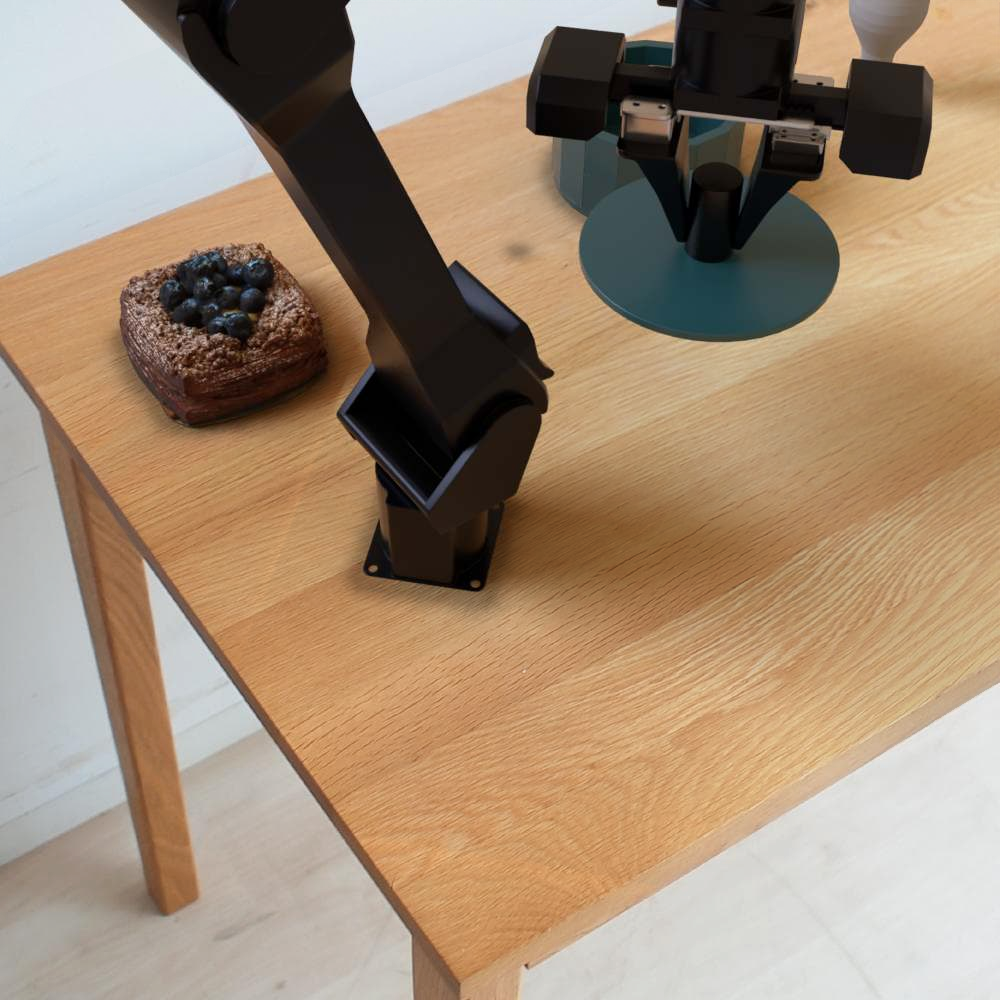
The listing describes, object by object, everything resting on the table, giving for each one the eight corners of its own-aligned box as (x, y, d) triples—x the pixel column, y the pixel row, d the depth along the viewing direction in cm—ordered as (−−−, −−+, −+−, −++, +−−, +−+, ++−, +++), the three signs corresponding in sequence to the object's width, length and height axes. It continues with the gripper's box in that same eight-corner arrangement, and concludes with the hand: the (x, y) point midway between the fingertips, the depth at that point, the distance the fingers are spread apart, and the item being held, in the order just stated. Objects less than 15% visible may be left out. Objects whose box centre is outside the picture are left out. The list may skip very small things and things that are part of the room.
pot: (728, 241, 95) (741, 158, 90) (538, 219, 96) (540, 136, 91) (743, 132, 103) (755, 50, 98) (568, 113, 104) (571, 31, 99)
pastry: (181, 445, 82) (163, 370, 78) (103, 326, 89) (82, 250, 85) (352, 375, 86) (344, 299, 82) (265, 265, 93) (253, 190, 88)
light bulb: (817, 83, 107) (841, -45, 99) (878, 66, 108) (906, -62, 101) (859, 121, 104) (887, -8, 96) (922, 103, 105) (954, -26, 98)
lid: (828, 369, 71) (848, 280, 67) (556, 331, 73) (559, 243, 69) (843, 202, 80) (862, 115, 76) (601, 172, 82) (605, 86, 78)
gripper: (964, -106, 67) (897, 172, 79) (571, -143, 70) (562, 131, 82) (963, 18, 60) (889, 303, 72) (524, -28, 63) (522, 254, 75)
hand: (710, 241), depth 75 cm, fingers closed on lid, 2 cm apart
